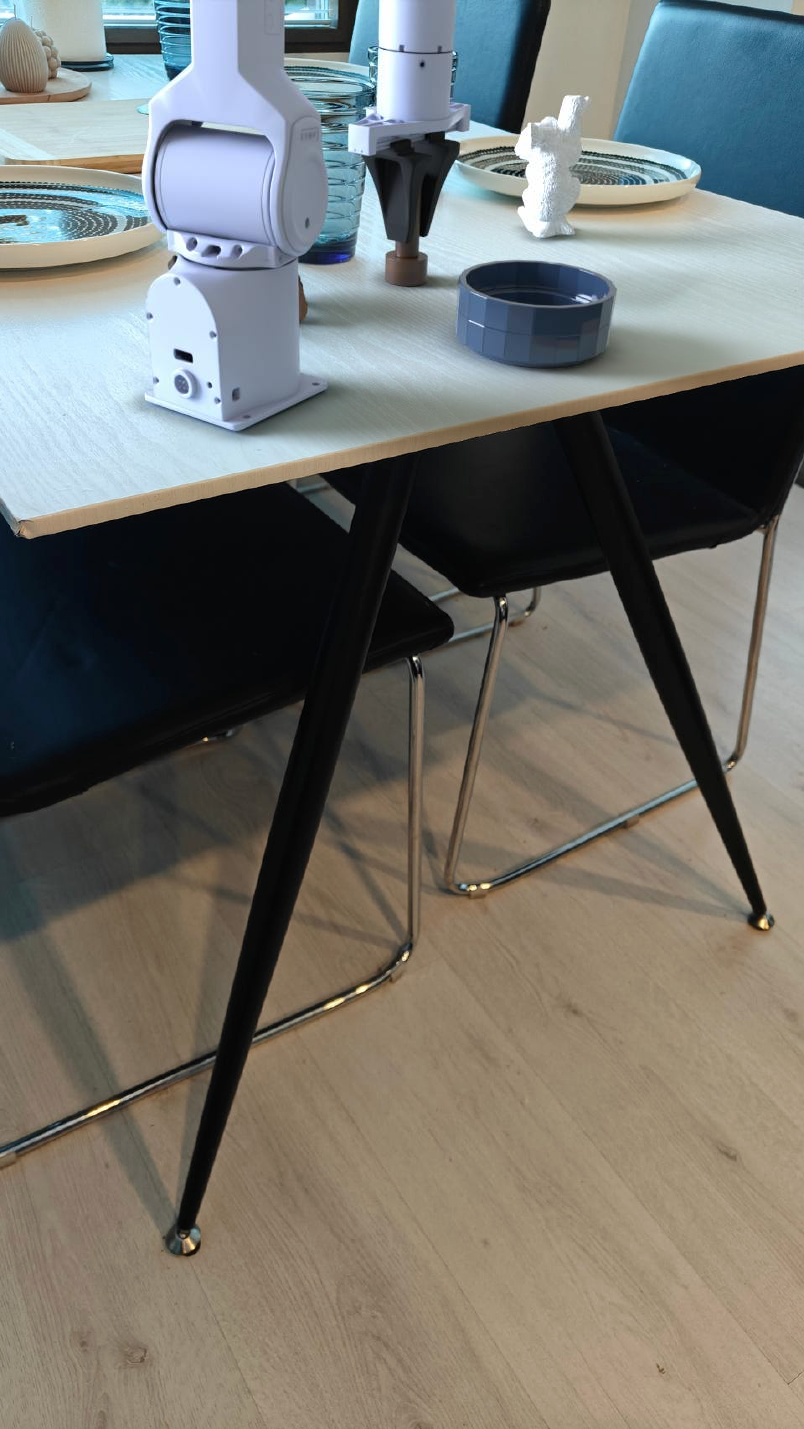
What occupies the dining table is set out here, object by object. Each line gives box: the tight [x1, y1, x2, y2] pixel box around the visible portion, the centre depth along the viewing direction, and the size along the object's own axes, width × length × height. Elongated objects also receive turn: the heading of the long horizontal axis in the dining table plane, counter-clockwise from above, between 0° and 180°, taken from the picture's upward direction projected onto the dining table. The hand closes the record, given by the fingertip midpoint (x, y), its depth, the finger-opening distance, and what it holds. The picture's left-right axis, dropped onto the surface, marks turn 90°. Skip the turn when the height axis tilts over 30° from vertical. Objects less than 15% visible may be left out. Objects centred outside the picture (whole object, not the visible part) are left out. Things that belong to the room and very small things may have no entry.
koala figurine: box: [514, 94, 593, 239], centre depth 104 cm, size 8×7×12 cm
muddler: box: [384, 186, 429, 287], centre depth 91 cm, size 4×4×8 cm
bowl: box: [454, 259, 618, 369], centre depth 81 cm, size 11×11×4 cm
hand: (407, 237), depth 91 cm, fingers closed on muddler, 2 cm apart
